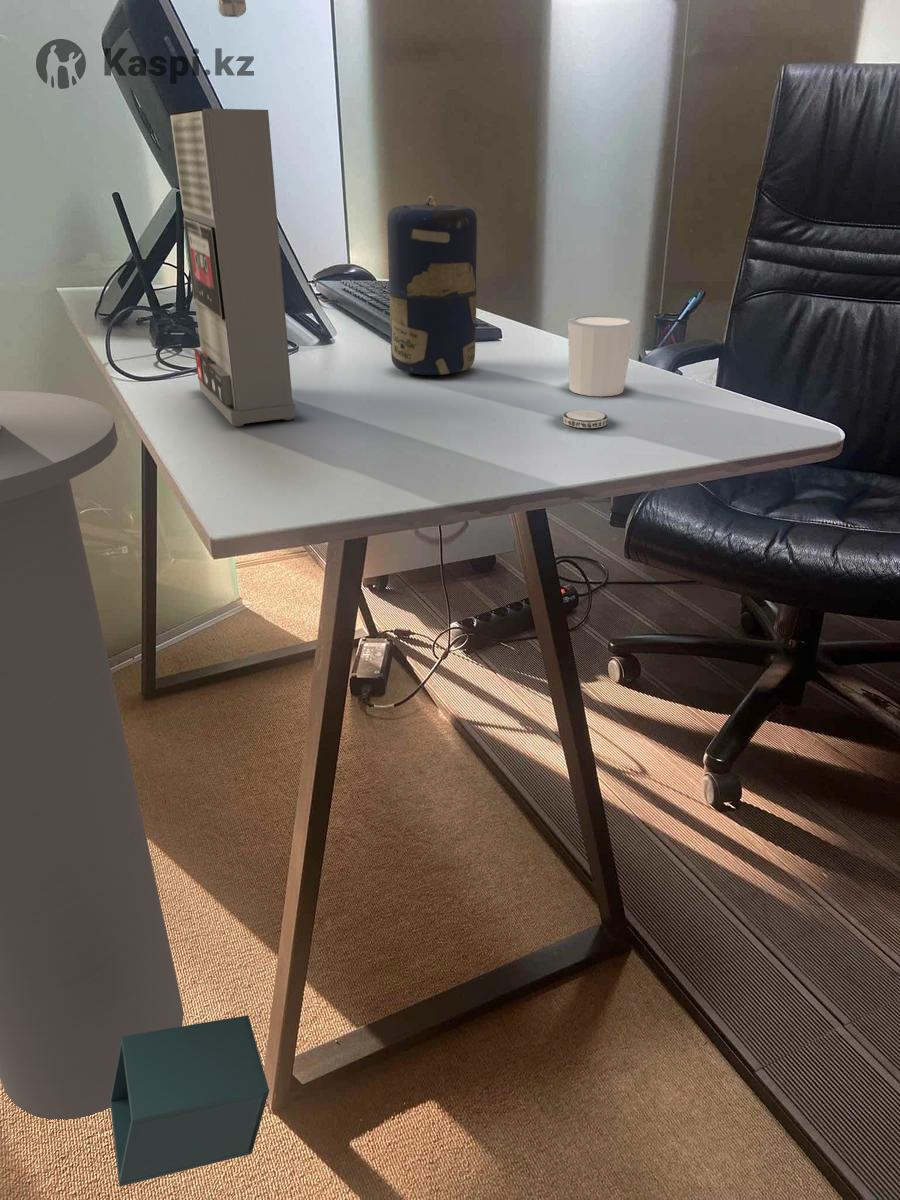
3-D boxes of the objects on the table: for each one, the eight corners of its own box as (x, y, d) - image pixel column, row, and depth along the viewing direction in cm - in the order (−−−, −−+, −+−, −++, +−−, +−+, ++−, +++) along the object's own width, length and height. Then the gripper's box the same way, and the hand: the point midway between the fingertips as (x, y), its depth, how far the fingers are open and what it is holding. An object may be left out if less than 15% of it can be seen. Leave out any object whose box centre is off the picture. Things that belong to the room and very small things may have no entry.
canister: (474, 361, 101) (478, 193, 93) (475, 380, 93) (479, 198, 84) (394, 360, 101) (390, 192, 93) (387, 379, 93) (382, 197, 85)
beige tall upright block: (198, 393, 88) (160, 113, 76) (256, 386, 90) (228, 114, 78) (229, 428, 77) (191, 108, 65) (295, 420, 79) (270, 109, 68)
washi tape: (615, 424, 78) (616, 418, 78) (578, 430, 76) (578, 423, 76) (591, 413, 81) (591, 407, 81) (554, 418, 80) (555, 412, 79)
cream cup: (588, 378, 94) (593, 312, 91) (641, 389, 90) (649, 320, 87) (550, 389, 90) (554, 320, 86) (604, 401, 86) (611, 329, 82)
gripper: (148, -210, 61) (176, 22, 68) (207, -339, 45) (236, -17, 51) (236, -196, 64) (255, 26, 70) (322, -314, 47) (336, -10, 54)
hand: (248, 8), depth 61 cm, fingers open, 8 cm apart
